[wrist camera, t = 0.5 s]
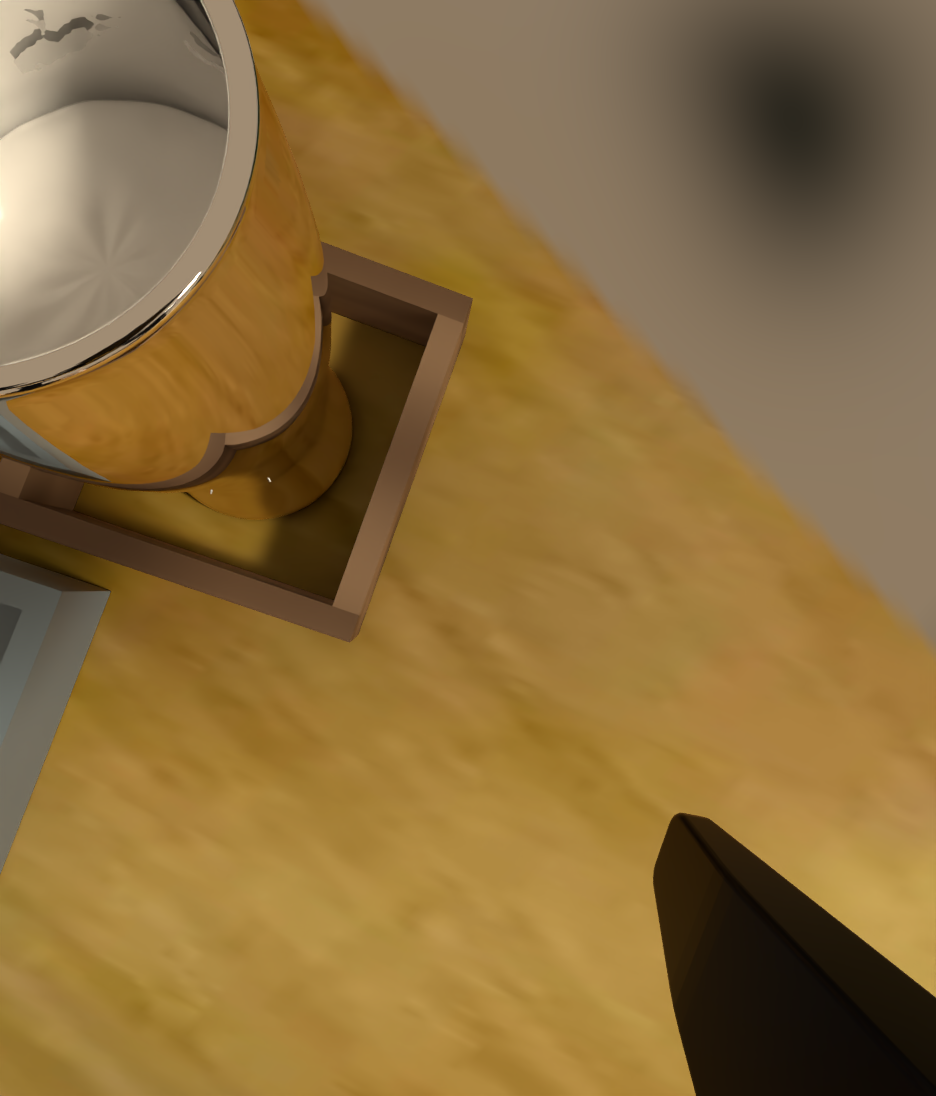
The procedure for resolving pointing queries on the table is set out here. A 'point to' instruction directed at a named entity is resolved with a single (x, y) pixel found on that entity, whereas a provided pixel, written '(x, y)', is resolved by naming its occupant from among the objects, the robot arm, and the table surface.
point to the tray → (36, 673)
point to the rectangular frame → (441, 328)
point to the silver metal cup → (159, 262)
